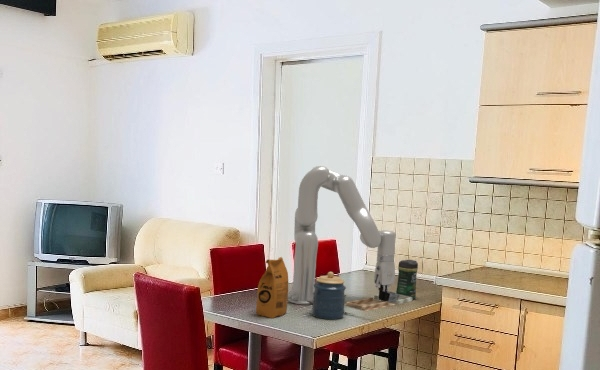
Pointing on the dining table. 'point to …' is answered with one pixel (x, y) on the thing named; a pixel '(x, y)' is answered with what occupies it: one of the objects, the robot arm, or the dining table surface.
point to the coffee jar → (407, 278)
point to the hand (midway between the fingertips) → (382, 299)
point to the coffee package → (273, 290)
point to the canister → (329, 297)
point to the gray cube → (389, 297)
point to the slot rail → (375, 303)
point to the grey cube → (394, 296)
